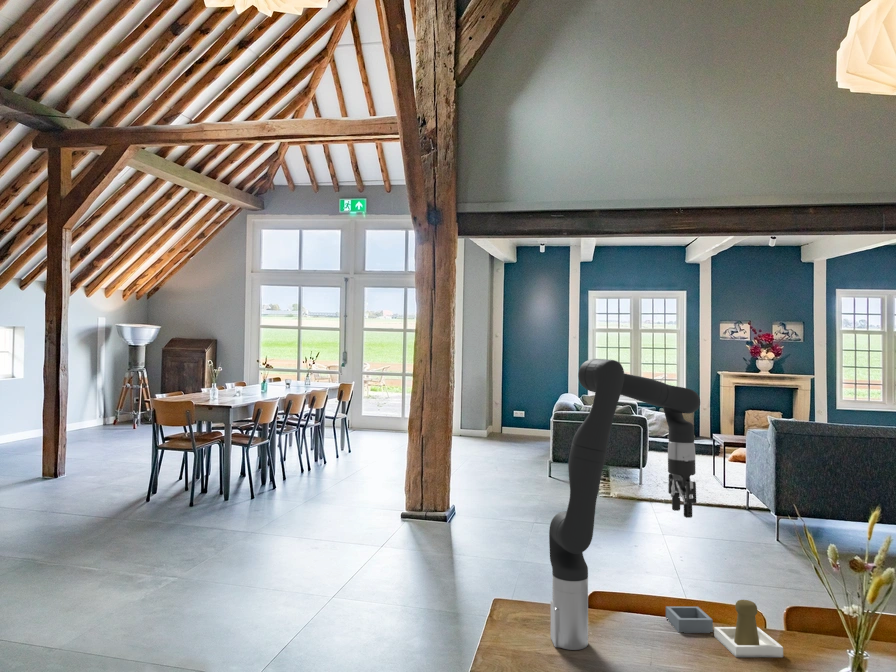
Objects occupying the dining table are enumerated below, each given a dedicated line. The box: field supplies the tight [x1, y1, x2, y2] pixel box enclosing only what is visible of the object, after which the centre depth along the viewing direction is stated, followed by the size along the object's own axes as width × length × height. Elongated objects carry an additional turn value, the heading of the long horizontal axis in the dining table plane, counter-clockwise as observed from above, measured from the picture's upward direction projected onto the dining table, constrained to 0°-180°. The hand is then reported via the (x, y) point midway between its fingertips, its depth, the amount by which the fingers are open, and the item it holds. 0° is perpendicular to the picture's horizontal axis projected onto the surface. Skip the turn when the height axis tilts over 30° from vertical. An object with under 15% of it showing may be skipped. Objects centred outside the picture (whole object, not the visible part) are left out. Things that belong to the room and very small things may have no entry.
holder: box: [665, 605, 714, 634], centre depth 173 cm, size 9×9×4 cm
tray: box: [713, 626, 784, 658], centre depth 160 cm, size 12×12×2 cm
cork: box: [734, 599, 759, 645], centre depth 160 cm, size 6×6×11 cm
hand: (682, 513), depth 178 cm, fingers open, 8 cm apart
